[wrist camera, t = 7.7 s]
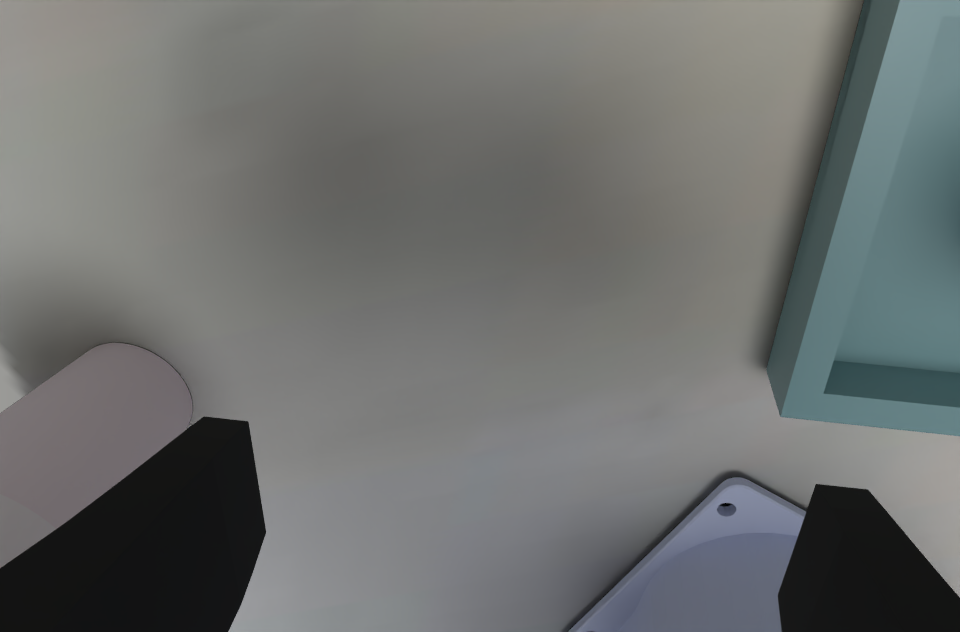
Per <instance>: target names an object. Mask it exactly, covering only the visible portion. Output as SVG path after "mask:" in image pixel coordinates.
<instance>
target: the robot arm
mask: <svg viewBox="0 0 960 632" xmlns="http://www.w3.org/2000/svg"><path fill="white" fill-rule="evenodd" d="M722 503H731V504H732V505H730V506H726V507H723V506H719V505H721V504H722ZM265 534H266V529H265V523H264V516H263V510H262V504H261V498H260V491H259V485H258V479H257V473H256V467H255V460H254V454H253V448H252V442H251V435H250V429H249V423H248V421H239V420H230V419H221V418H212V417H203V418H201V419H200V420H199V421H197V422H196V423H195V424H193V425H192V426H191V427H189V428H188V429H187V430H185V431H184V432H183V433H181V434H180V435H179V436H178V437H176V438H175V439H174V440H172V441H171V442H170V443H169V444H167V445H166V446H165V447H163V448H162V449H161V450H160V451H158V452H157V453H156V454H154V455H153V456H152V457H151V458H149V459H148V460H147V461H146V462H144V463H143V464H142V465H140V466H139V467H138V468H137V469H135V470H134V471H133V472H131V473H130V474H129V475H128V476H126V477H125V478H124V479H122V480H121V481H120V482H118V483H117V484H116V485H114V486H113V487H112V488H111V489H109V490H108V491H107V492H105V493H104V494H103V495H101V496H100V497H99V498H97V499H96V500H95V501H93V502H92V503H91V504H89V505H88V506H87V507H85V508H84V509H83V510H81V511H80V512H79V513H78V514H76V515H75V516H74V517H72V518H71V519H70V520H68V521H67V522H65V523H64V524H63V525H61V526H60V527H59V528H57V529H56V530H54V531H53V532H51V533H50V534H48V535H47V536H46V537H44V538H43V539H41V540H40V541H38V542H37V543H36V544H34V545H33V546H31V547H30V548H28V549H27V550H26V551H24V552H23V553H21V554H20V555H18V556H17V557H15V558H14V559H13V560H11V561H10V562H8V563H7V564H5V565H4V566H3V567H1V568H0V632H228V631H229V629H230V627H231V625H232V622H233V620H234V618H235V616H236V614H237V612H238V610H239V608H240V606H241V603H242V600H243V598H244V595H245V592H246V589H247V587H248V584H249V581H250V578H251V576H252V573H253V570H254V567H255V564H256V561H257V558H258V555H259V552H260V549H261V546H262V543H263V540H264V537H265ZM568 632H960V598H959V596H958V595H957V594H956V593H955V592H954V591H953V589H952V588H951V587H950V586H949V585H948V584H947V582H946V581H945V580H944V579H943V578H942V577H941V575H940V574H939V573H938V572H937V571H936V570H935V568H934V567H933V566H932V565H931V564H930V563H929V561H928V560H927V559H926V558H925V557H924V555H923V554H922V553H921V552H920V551H919V550H918V548H917V547H916V546H915V545H914V544H913V542H912V541H911V540H910V539H909V538H908V536H907V535H906V534H905V533H904V532H903V530H902V529H901V528H900V527H899V526H898V524H897V523H896V522H895V521H894V520H893V518H892V517H891V516H890V515H889V514H888V513H887V511H886V510H885V509H884V508H883V507H882V505H881V504H880V503H879V502H878V501H877V500H876V499H875V497H874V496H873V495H872V494H871V493H870V492H869V490H866V489H857V488H847V487H838V486H829V485H820V484H816V485H815V488H814V491H813V494H812V497H811V500H810V503H809V506H808V509H807V512H806V511H804V510H802V509H800V508H799V507H797V506H795V505H793V504H791V503H789V502H788V501H786V500H784V499H782V498H780V497H778V496H777V495H775V494H773V493H771V492H769V491H767V490H766V489H764V488H762V487H760V486H758V485H756V484H754V483H753V482H751V481H749V480H747V479H744V478H740V477H733V478H730V479H727V480H725V481H724V482H722V483H721V484H720V485H719V486H718V487H717V488H716V489H715V490H714V491H713V492H712V493H711V494H710V495H709V496H708V497H706V498H705V499H704V500H703V501H702V502H701V503H700V504H699V505H698V506H697V507H696V508H695V509H694V510H693V511H692V512H691V513H690V514H689V515H688V516H687V517H686V518H685V519H684V520H683V521H682V522H681V523H680V524H679V525H678V526H677V527H676V528H674V529H673V530H672V531H671V532H670V533H669V534H668V535H667V536H666V537H665V538H664V539H663V540H662V541H661V542H660V543H659V544H658V545H657V546H656V547H655V548H654V549H653V550H652V551H651V552H650V553H649V554H648V555H647V556H646V557H645V558H644V559H642V560H641V561H640V562H639V563H638V564H637V565H636V566H635V567H634V568H633V569H632V570H631V571H630V572H629V573H628V574H627V575H626V576H625V577H624V578H623V579H622V580H621V581H620V582H619V583H618V584H617V585H616V586H615V587H614V588H613V589H612V590H610V591H609V592H608V593H607V594H606V595H605V596H604V597H603V598H602V599H601V600H600V601H599V602H598V603H597V604H596V605H595V606H594V607H593V608H592V609H591V610H590V611H589V612H588V613H587V614H586V615H585V616H584V617H583V618H582V619H581V620H580V621H578V622H577V623H576V624H575V625H574V626H573V627H572V628H571V629H570V630H569V631H568Z"/></svg>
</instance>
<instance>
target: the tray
mask: <svg viewBox="0 0 960 632" xmlns="http://www.w3.org/2000/svg"><path fill="white" fill-rule="evenodd" d="M766 370H767V374H768V377H769V380H770V384H771V387H772V390H773V394H774V397H775V400H776V404H777V407H778V410H779V414H780V417H787V418H796V419H806V420H815V421H824V422H833V423H843V424H852V425H861V426H871V427H880V428H889V429H898V430H908V431H917V432H926V433H935V434H945V435H954V436H960V0H864V3H863V7H862V11H861V15H860V18H859V22H858V26H857V30H856V33H855V37H854V41H853V45H852V49H851V52H850V56H849V60H848V64H847V67H846V71H845V75H844V79H843V82H842V86H841V90H840V94H839V98H838V101H837V105H836V109H835V113H834V116H833V120H832V124H831V128H830V131H829V135H828V139H827V143H826V147H825V150H824V154H823V158H822V162H821V165H820V169H819V173H818V177H817V180H816V184H815V188H814V192H813V196H812V199H811V203H810V207H809V211H808V214H807V218H806V222H805V226H804V229H803V233H802V237H801V241H800V245H799V248H798V252H797V256H796V260H795V263H794V267H793V271H792V275H791V279H790V282H789V286H788V290H787V294H786V297H785V301H784V305H783V309H782V312H781V316H780V320H779V324H778V328H777V331H776V335H775V339H774V343H773V346H772V350H771V354H770V358H769V361H768V365H767V369H766Z"/></svg>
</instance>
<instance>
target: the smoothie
mask: <svg viewBox="0 0 960 632" xmlns="http://www.w3.org/2000/svg"><path fill="white" fill-rule="evenodd" d="M192 410H193V406H192V399H191V395H190V392H189V390H188V388H187V386H186V384H185V382H184V381H183V379H182V378H181V376H180V375H179V374H178V373H177V372H176V370H175V369H174V368H173V367H172V366H170V365H169V364H168V363H167V362H166V361H164V360H163V359H162V358H160V357H159V356H157V355H155V354H154V353H152V352H150V351H148V350H146V349H143V348H140V347H137V346H134V345H130V344H124V343H107V344H102V345H99V346H96V347H94V348H92V349H90V350H89V351H88V352H86V353H85V354H83V355H82V356H80V357H79V358H78V359H76V360H75V361H73V362H72V363H71V364H69V365H68V366H66V367H65V368H63V369H62V370H61V371H59V372H58V373H56V374H55V375H54V376H52V377H51V378H49V379H48V380H47V381H45V382H44V383H42V384H41V385H39V386H38V387H37V388H35V389H34V390H32V391H31V392H30V393H28V394H27V395H25V396H24V397H22V398H21V399H20V400H18V401H17V402H15V403H14V404H13V405H11V406H10V407H8V408H7V409H6V410H4V411H3V412H1V413H0V568H1V567H3V566H4V565H5V564H7V563H8V562H10V561H11V560H13V559H14V558H15V557H17V556H18V555H20V554H21V553H23V552H24V551H26V550H27V549H28V548H30V547H31V546H33V545H34V544H36V543H37V542H38V541H40V540H41V539H43V538H44V537H46V536H47V535H48V534H50V533H51V532H53V531H54V530H56V529H57V528H59V527H60V526H61V525H63V524H64V523H65V522H67V521H68V520H70V519H71V518H72V517H74V516H75V515H76V514H78V513H79V512H80V511H81V510H83V509H84V508H85V507H87V506H88V505H89V504H91V503H92V502H93V501H95V500H96V499H97V498H99V497H100V496H101V495H103V494H104V493H105V492H107V491H108V490H109V489H111V488H112V487H113V486H114V485H116V484H117V483H118V482H120V481H121V480H122V479H124V478H125V477H126V476H128V475H129V474H130V473H131V472H133V471H134V470H135V469H137V468H138V467H139V466H140V465H142V464H143V463H144V462H146V461H147V460H148V459H149V458H151V457H152V456H153V455H154V454H156V453H157V452H158V451H160V450H161V449H162V448H163V447H165V446H166V445H167V444H169V443H170V442H171V441H172V440H174V439H175V438H176V437H178V436H179V435H180V434H181V433H183V432H184V431H185V430H186V428H187V426H188V424H189V422H190V420H191V416H192Z"/></svg>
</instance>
